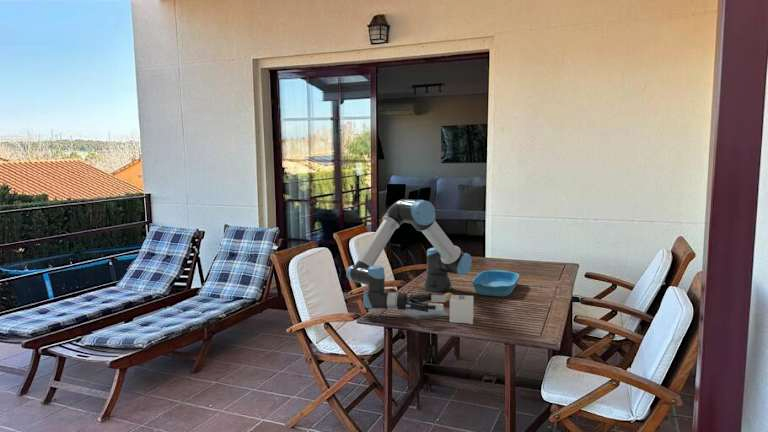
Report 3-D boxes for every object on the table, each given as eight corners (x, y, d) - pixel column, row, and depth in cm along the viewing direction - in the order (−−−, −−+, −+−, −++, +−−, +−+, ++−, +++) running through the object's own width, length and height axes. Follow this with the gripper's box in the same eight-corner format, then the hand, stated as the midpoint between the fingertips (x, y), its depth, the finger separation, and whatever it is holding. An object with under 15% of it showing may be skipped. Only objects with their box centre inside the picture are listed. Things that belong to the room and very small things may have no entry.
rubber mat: (435, 307, 246) (435, 306, 246) (450, 315, 234) (450, 314, 234) (401, 312, 239) (401, 311, 239) (415, 321, 226) (415, 320, 226)
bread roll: (449, 309, 257) (444, 293, 258) (466, 303, 250) (460, 288, 252) (439, 313, 249) (433, 298, 250) (455, 308, 243) (449, 292, 244)
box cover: (451, 316, 233) (451, 292, 231) (473, 317, 231) (473, 293, 229) (449, 323, 223) (449, 298, 222) (472, 324, 221) (472, 299, 220)
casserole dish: (511, 300, 258) (512, 286, 257) (468, 296, 267) (468, 283, 266) (521, 283, 292) (521, 271, 291) (482, 280, 300) (483, 268, 300)
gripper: (401, 301, 244) (446, 303, 240) (393, 317, 220) (442, 319, 216) (401, 286, 243) (446, 287, 239) (392, 300, 219) (442, 302, 215)
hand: (444, 303), depth 227 cm, fingers open, 13 cm apart
